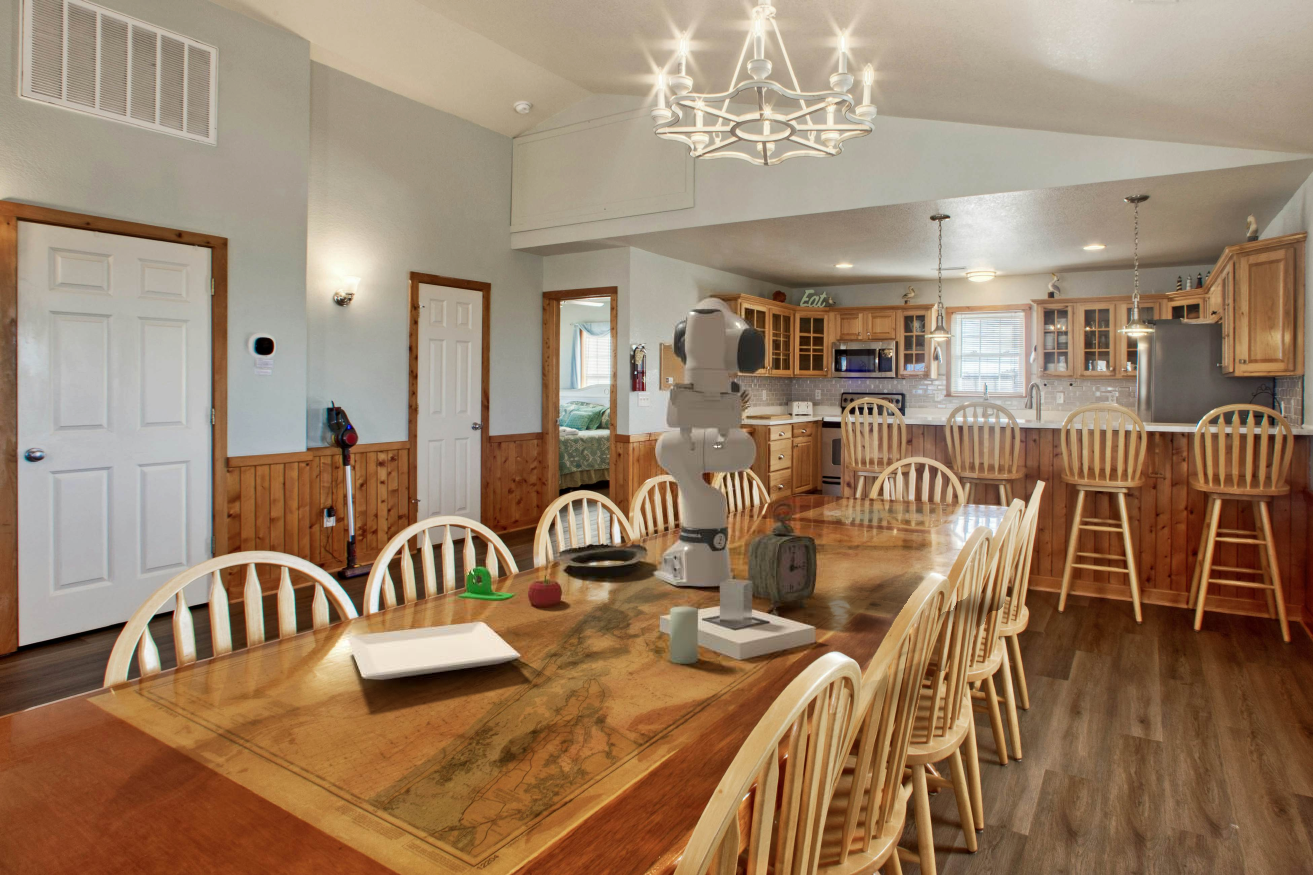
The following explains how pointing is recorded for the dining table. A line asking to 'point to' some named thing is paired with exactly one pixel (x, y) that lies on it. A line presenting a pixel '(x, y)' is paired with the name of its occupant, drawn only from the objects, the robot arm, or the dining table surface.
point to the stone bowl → (603, 553)
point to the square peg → (736, 602)
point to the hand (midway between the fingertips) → (705, 450)
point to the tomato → (544, 593)
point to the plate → (428, 650)
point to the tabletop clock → (782, 564)
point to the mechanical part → (482, 587)
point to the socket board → (747, 634)
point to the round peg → (684, 635)
